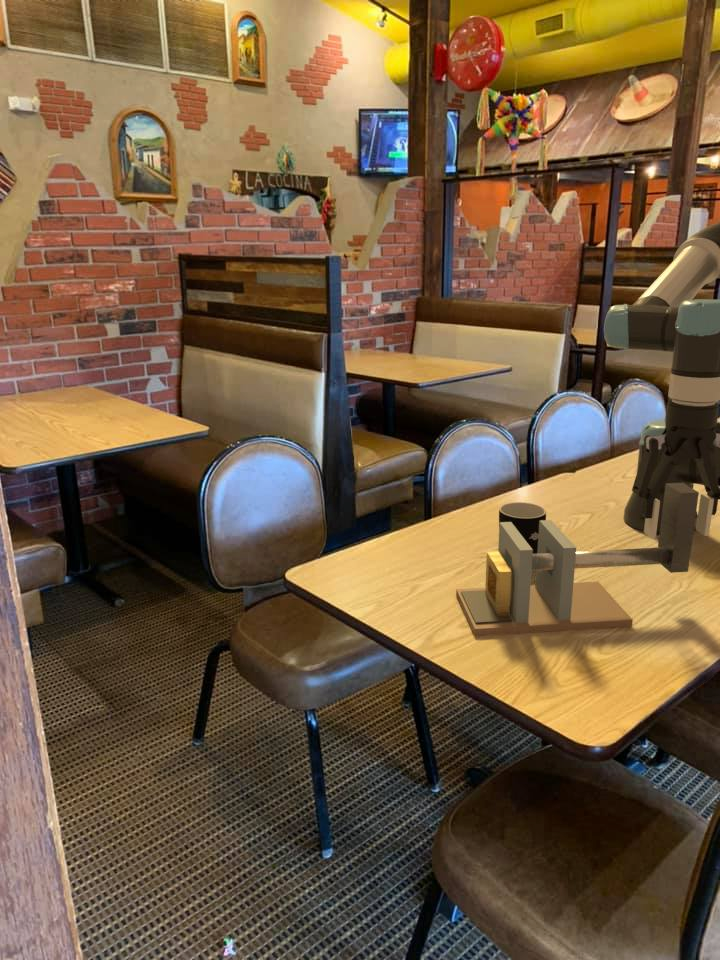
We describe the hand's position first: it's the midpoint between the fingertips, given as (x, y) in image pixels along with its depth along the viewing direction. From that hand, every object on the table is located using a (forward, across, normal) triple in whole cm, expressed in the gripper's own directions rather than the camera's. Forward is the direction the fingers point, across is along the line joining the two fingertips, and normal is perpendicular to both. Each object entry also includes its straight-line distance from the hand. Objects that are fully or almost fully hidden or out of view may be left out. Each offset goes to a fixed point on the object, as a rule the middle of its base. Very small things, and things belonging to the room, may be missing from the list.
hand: (676, 534), depth 121 cm
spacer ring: (+7, +30, 0) cm, 31 cm away
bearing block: (+13, +22, 0) cm, 26 cm away
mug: (+13, +18, -23) cm, 32 cm away
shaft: (+6, +12, 0) cm, 13 cm away
